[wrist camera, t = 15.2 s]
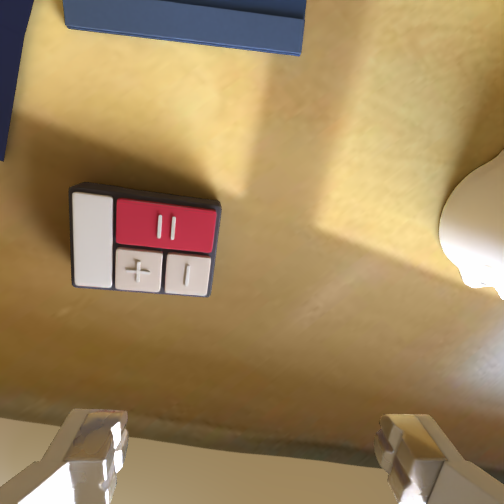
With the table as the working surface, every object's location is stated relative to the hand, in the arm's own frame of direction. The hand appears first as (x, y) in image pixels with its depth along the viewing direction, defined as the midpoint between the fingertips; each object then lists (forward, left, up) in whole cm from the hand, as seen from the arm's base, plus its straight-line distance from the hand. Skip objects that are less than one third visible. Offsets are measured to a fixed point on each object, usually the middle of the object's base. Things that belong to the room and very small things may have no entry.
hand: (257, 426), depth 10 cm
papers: (+33, -21, -28) cm, 48 cm away
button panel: (+9, +3, -28) cm, 30 cm away
